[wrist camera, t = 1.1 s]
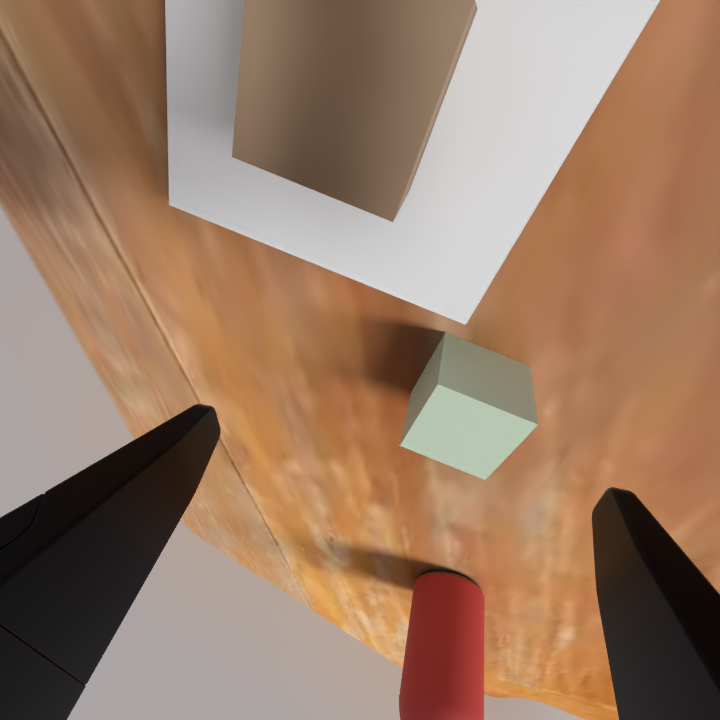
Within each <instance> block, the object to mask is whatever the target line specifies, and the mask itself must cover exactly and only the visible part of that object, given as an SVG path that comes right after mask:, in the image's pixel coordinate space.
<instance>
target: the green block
mask: <svg viewBox="0 0 720 720" xmlns="http://www.w3.org/2000/svg"><path fill="white" fill-rule="evenodd" d="M537 425H538V422H537V414H536V406H535V399H534V391H533V383H532V376H531V368H530V366H528V365H526V364H523V363H521V362H518V361H516V360H513V359H511V358H508V357H506V356H503V355H501V354H499V353H496V352H494V351H491V350H489V349H486V348H484V347H481V346H479V345H476V344H474V343H471V342H469V341H466V340H464V339H461V338H459V337H456V336H454V335H452V334H449V333H447V332H445V334H444V335H443V337H442V339H441V341H440V342H439V344H438V346H437V348H436V350H435V351H434V353H433V355H432V357H431V358H430V360H429V362H428V364H427V365H426V367H425V369H424V371H423V373H422V374H421V376H420V378H419V380H418V381H417V383H416V385H415V387H414V388H413V390H412V392H411V396H410V401H409V406H408V410H407V415H406V420H405V424H404V429H403V433H402V438H401V443H400V446H402V447H405V448H407V449H409V450H412V451H414V452H417V453H419V454H422V455H424V456H427V457H429V458H432V459H434V460H437V461H439V462H442V463H444V464H447V465H449V466H452V467H454V468H457V469H459V470H461V471H464V472H466V473H469V474H471V475H474V476H476V477H479V478H481V479H484V480H486V479H487V478H488V477H489V476H490V474H491V473H492V472H493V471H494V470H495V469H496V468H497V467H498V466H499V465H500V464H501V463H502V462H503V461H504V460H505V459H506V458H507V457H508V456H509V455H510V453H511V452H512V451H513V450H514V449H515V448H516V447H517V446H518V445H519V444H520V443H521V442H522V441H523V440H524V439H525V438H526V437H527V436H528V435H529V434H530V432H531V431H532V430H533V429H534V428H535V427H536V426H537Z"/></svg>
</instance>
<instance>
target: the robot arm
mask: <svg viewBox="0 0 720 720" xmlns="http://www.w3.org/2000/svg"><path fill="white" fill-rule="evenodd" d="M219 437H220V425H219V422H218V418H217V415H216V411H215V409H214V408H213V407H212V406H208V405H203V404H196V405H194V406H192V407H190V408H189V409H187V410H185V411H183V412H182V413H180V414H178V415H177V416H175V417H173V418H171V419H170V420H168V421H166V422H165V423H163V424H161V425H159V426H158V427H156V428H154V429H153V430H151V431H149V432H147V433H146V434H144V435H142V436H140V437H139V438H137V439H135V440H134V441H132V442H130V443H128V444H127V445H125V446H123V447H122V448H120V449H118V450H117V451H115V452H113V453H111V454H110V455H108V456H106V457H104V458H103V459H101V460H99V461H98V462H96V463H94V464H93V465H91V466H89V467H87V468H86V469H84V470H82V471H80V472H79V473H77V474H76V475H73V476H72V477H70V478H68V479H67V480H65V481H63V482H62V483H60V484H58V485H56V486H55V487H53V488H51V489H49V490H48V491H46V492H45V494H41V495H39V496H37V497H35V498H34V499H32V500H30V501H29V502H27V503H25V504H23V505H22V506H20V507H18V508H16V509H15V510H13V511H11V512H9V513H7V514H6V515H4V516H2V517H0V720H67V718H68V716H69V715H70V713H71V711H72V709H73V708H74V706H75V704H76V702H77V701H78V699H79V697H80V695H81V693H82V692H83V690H84V688H85V684H87V682H88V681H89V679H90V677H91V675H92V674H93V672H94V670H95V668H96V666H97V665H98V663H99V661H100V660H101V658H102V656H103V654H104V653H105V651H106V649H107V647H108V646H109V644H110V642H111V640H112V639H113V637H114V635H115V633H116V631H117V630H118V628H119V626H120V624H121V623H122V621H123V619H124V617H125V615H126V614H127V612H128V610H129V609H130V607H131V605H132V603H133V602H134V600H135V598H136V596H137V595H138V593H139V591H140V589H141V587H142V586H143V584H144V582H145V580H146V579H147V577H148V575H149V573H150V572H151V570H152V568H153V566H154V565H155V563H156V561H157V559H158V557H159V556H160V554H161V552H162V550H163V549H164V547H165V545H166V543H167V542H168V540H169V538H170V536H171V535H172V533H173V531H174V529H175V528H176V526H177V524H178V522H179V521H180V519H181V517H182V515H183V514H184V512H185V510H186V508H187V507H188V505H189V503H190V501H191V499H192V498H193V496H194V494H195V492H196V490H197V488H198V485H199V483H200V481H201V479H202V476H203V474H204V472H205V470H206V467H207V465H208V463H209V460H210V458H211V456H212V453H213V451H214V449H215V447H216V444H217V442H218V440H219ZM592 529H593V545H594V562H595V578H596V590H597V597H598V603H599V609H600V615H601V620H602V626H603V631H604V637H605V643H606V648H607V654H608V659H609V665H610V671H611V676H612V682H613V688H614V693H615V699H616V704H617V710H618V716H619V720H720V594H719V593H718V592H717V590H716V589H715V588H714V587H713V586H712V585H711V583H710V582H709V581H708V580H707V579H706V578H705V576H704V575H703V574H702V573H701V572H700V570H699V569H698V568H697V567H696V566H695V565H694V563H693V562H692V561H691V560H690V559H689V558H688V556H687V555H686V554H685V553H684V552H683V550H682V549H681V548H680V547H679V546H678V545H677V543H676V542H675V541H674V540H673V539H672V537H671V536H670V535H669V534H668V533H667V532H666V530H665V529H664V528H663V527H662V526H661V525H660V523H659V522H658V521H657V520H656V519H655V517H654V516H653V515H652V514H651V513H650V512H649V510H648V509H647V508H646V507H645V506H644V505H643V503H642V502H641V501H640V500H639V499H638V497H637V496H636V495H635V494H634V493H632V492H631V491H628V490H624V489H619V488H614V487H611V488H608V489H607V490H606V491H605V493H604V494H603V496H602V497H601V499H600V500H599V501H598V503H597V504H596V506H595V507H594V509H593V513H592Z"/></svg>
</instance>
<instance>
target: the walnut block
mask: <svg viewBox="0 0 720 720" xmlns="http://www.w3.org/2000/svg"><path fill="white" fill-rule="evenodd" d="M477 10H478V8H477V5H476V1H475V0H244V10H243V22H242V35H241V47H240V60H239V73H238V85H237V98H236V110H235V123H234V135H233V148H232V157H233V158H235V159H238V160H240V161H243V162H245V163H248V164H250V165H253V166H255V167H258V168H260V169H263V170H265V171H267V172H270V173H272V174H275V175H277V176H280V177H282V178H285V179H287V180H290V181H292V182H295V183H297V184H300V185H302V186H305V187H307V188H309V189H312V190H314V191H317V192H319V193H322V194H324V195H327V196H329V197H332V198H334V199H337V200H339V201H342V202H344V203H347V204H349V205H352V206H354V207H356V208H359V209H361V210H364V211H366V212H369V213H371V214H374V215H376V216H379V217H381V218H384V219H386V220H389V221H391V222H394V220H395V218H396V216H397V214H398V212H399V210H400V208H401V206H402V204H403V202H404V200H405V198H406V196H407V194H408V192H409V191H410V188H411V185H412V183H413V180H414V177H415V175H416V172H417V169H418V167H419V164H420V161H421V159H422V156H423V153H424V151H425V148H426V145H427V143H428V140H429V138H430V135H431V132H432V130H433V127H434V124H435V122H436V119H437V116H438V114H439V111H440V108H441V106H442V103H443V100H444V98H445V95H446V92H447V90H448V87H449V84H450V82H451V79H452V76H453V74H454V71H455V68H456V66H457V63H458V60H459V58H460V55H461V52H462V50H463V47H464V44H465V42H466V39H467V36H468V34H469V31H470V28H471V26H472V23H473V20H474V18H475V15H476V12H477Z"/></svg>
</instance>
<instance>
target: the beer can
mask: <svg viewBox="0 0 720 720" xmlns="http://www.w3.org/2000/svg"><path fill="white" fill-rule="evenodd" d="M399 709H400V710H399V711H400V719H401V720H484V595H483V593H482V591H481V589H480V588H479V587H478V586H477V585H476V584H475V583H474V582H473V581H471V580H469V579H468V578H466V577H464V576H461V575H458V574H456V573H451V572H446V571H432V572H427V573H425V574H422V575H420V576H419V577H418V578H417V580H416V581H415V583H414V590H413V597H412V605H411V612H410V620H409V627H408V635H407V642H406V650H405V657H404V665H403V673H402V680H401V688H400V695H399Z"/></svg>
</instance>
